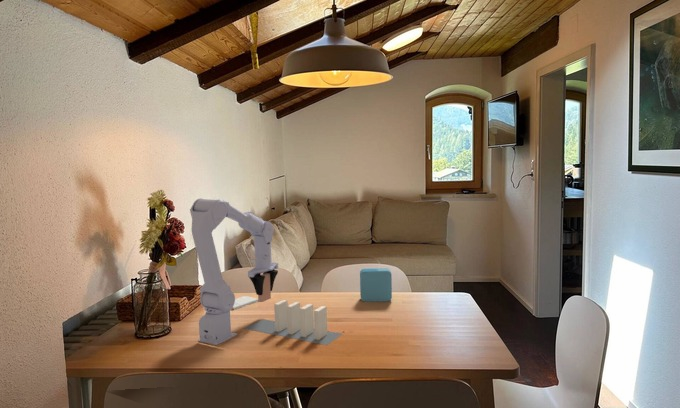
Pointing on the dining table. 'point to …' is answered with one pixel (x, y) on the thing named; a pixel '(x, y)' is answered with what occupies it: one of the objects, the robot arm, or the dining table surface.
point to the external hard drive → (244, 301)
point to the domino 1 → (265, 289)
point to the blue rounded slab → (375, 285)
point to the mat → (269, 328)
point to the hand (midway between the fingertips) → (264, 292)
